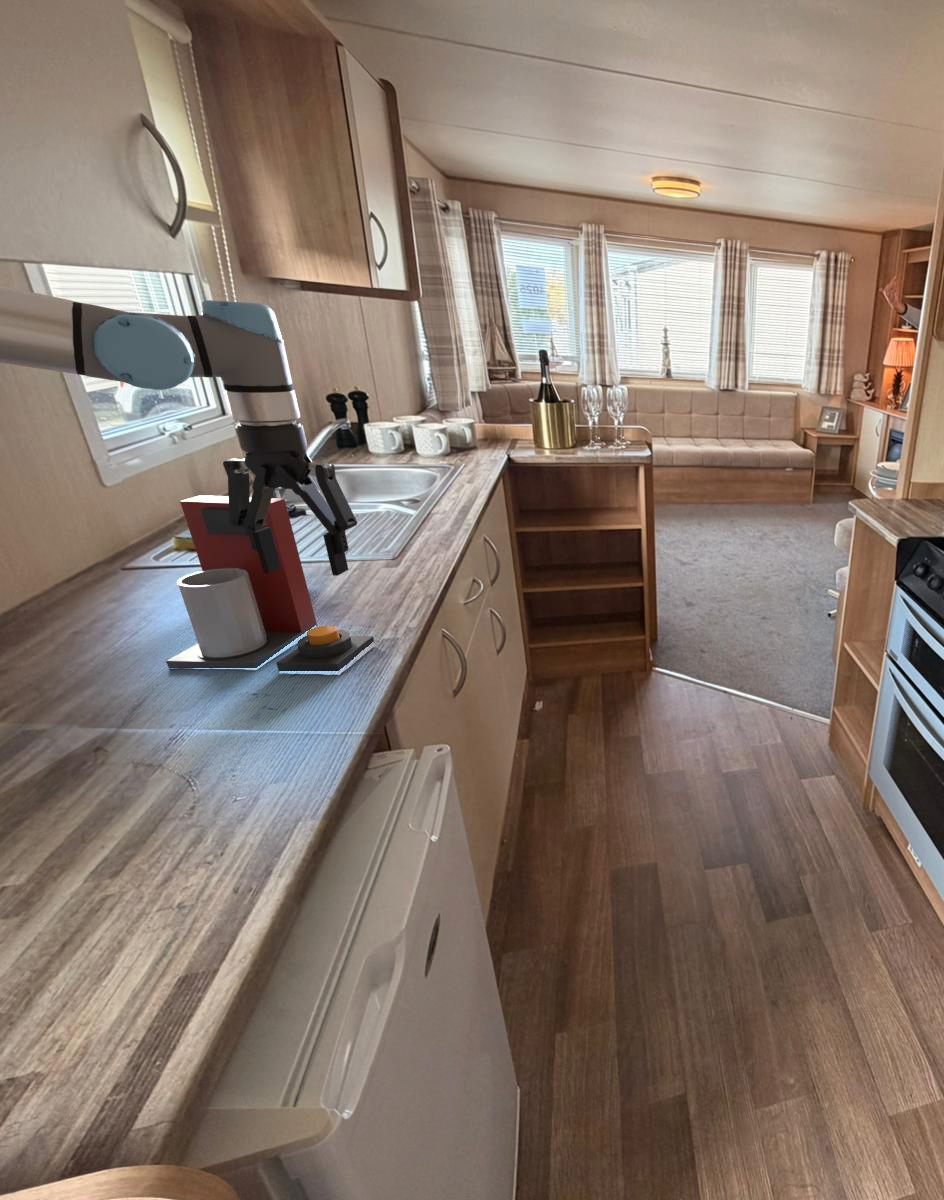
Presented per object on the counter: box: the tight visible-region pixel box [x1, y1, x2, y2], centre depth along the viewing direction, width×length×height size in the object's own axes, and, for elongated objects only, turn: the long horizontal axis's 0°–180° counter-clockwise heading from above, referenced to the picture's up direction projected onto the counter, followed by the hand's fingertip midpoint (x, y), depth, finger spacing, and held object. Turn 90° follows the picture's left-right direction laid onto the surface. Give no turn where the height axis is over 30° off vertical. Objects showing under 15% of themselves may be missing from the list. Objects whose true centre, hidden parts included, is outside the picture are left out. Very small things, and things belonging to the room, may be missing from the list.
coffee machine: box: [165, 494, 318, 669], centre depth 101 cm, size 15×13×24 cm
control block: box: [275, 629, 375, 672], centre depth 103 cm, size 10×9×4 cm
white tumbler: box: [176, 568, 267, 658], centre depth 101 cm, size 8×8×12 cm
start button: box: [307, 625, 340, 645], centre depth 102 cm, size 4×4×2 cm
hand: (306, 571), depth 98 cm, fingers open, 9 cm apart
